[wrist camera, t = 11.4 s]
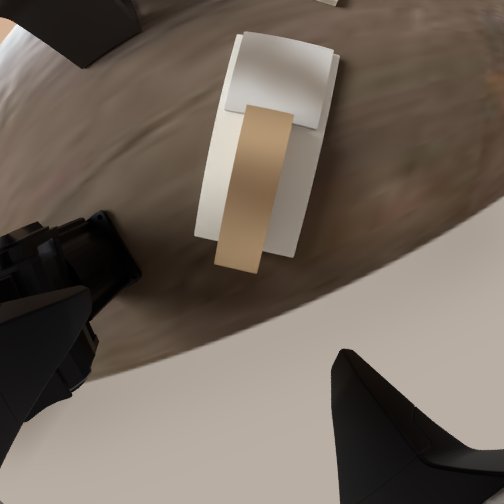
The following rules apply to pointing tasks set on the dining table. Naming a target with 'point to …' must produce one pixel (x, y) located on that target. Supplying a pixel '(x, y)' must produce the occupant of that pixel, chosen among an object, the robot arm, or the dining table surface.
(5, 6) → the phone stand
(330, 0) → the tile
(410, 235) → the dining table surface
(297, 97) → the turner
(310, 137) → the tool rest
